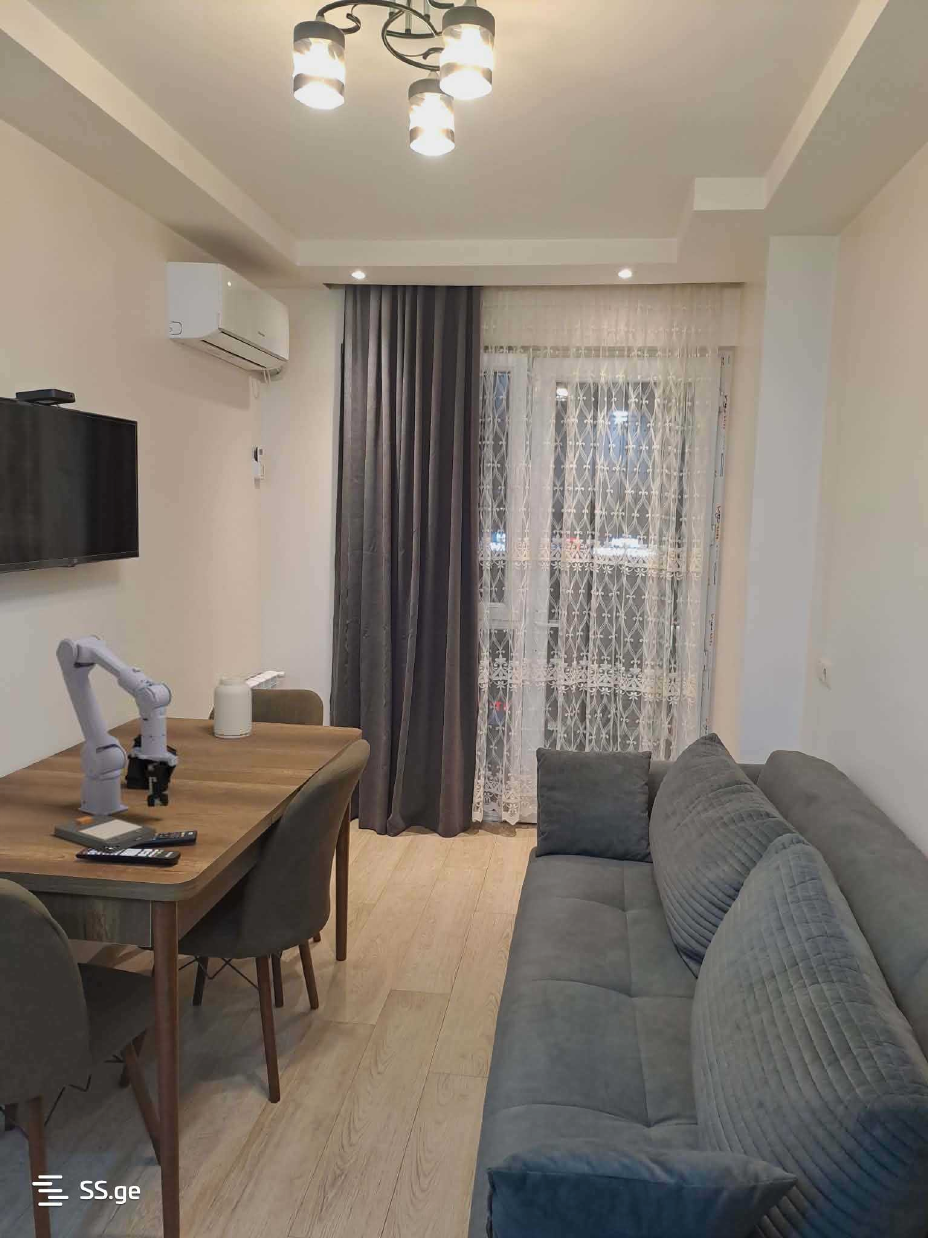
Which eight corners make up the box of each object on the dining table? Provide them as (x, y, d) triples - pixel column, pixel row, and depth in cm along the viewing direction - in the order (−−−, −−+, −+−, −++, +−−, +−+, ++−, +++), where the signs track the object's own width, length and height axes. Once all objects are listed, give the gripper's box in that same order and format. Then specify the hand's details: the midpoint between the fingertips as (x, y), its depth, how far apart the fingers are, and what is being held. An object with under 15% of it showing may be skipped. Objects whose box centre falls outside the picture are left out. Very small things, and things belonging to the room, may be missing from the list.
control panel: (54, 835, 203) (54, 823, 203) (100, 821, 213) (99, 810, 213) (111, 853, 193) (110, 841, 193) (155, 838, 203) (155, 826, 203)
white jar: (215, 731, 309) (215, 674, 307) (252, 730, 311) (252, 674, 309) (212, 739, 297) (212, 680, 295) (250, 739, 299) (250, 680, 297)
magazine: (120, 778, 244) (142, 731, 242) (162, 801, 243) (184, 754, 241) (114, 782, 240) (136, 734, 238) (156, 805, 239) (178, 757, 237)
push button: (139, 809, 212) (136, 768, 211) (143, 804, 217) (140, 763, 216) (168, 807, 213) (165, 766, 212) (171, 801, 218) (168, 761, 217)
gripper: (120, 733, 213) (120, 788, 215) (160, 742, 206) (161, 799, 207) (144, 728, 219) (144, 781, 221) (184, 736, 212) (185, 792, 213)
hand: (154, 789), depth 214 cm, fingers closed on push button, 5 cm apart
